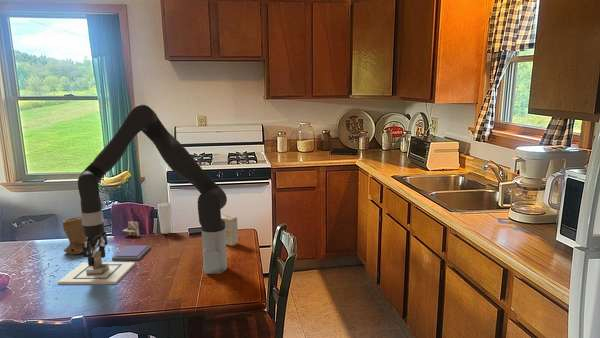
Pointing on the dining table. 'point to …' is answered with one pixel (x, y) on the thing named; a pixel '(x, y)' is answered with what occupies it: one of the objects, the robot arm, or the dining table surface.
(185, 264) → the dining table surface
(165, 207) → the tall white block
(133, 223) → the architectural model
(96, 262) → the stamp
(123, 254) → the pad
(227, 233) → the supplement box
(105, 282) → the marking board
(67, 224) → the brown bookend
